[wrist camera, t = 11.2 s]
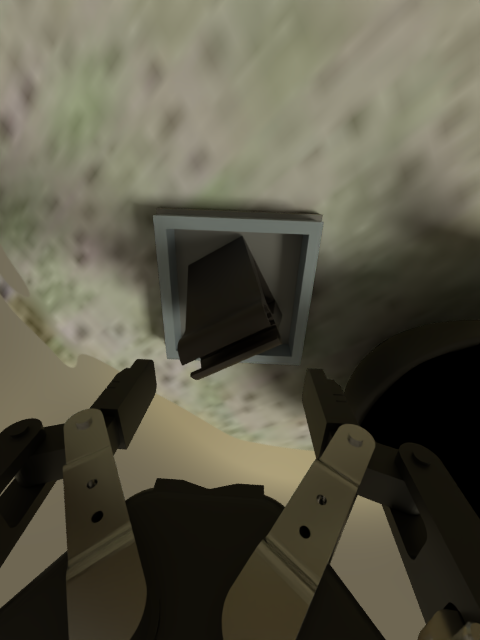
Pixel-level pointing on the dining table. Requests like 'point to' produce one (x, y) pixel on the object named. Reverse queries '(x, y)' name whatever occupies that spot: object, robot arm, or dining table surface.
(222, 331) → the phone stand
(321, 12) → the dining table surface
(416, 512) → the robot arm
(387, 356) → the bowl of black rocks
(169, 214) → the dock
